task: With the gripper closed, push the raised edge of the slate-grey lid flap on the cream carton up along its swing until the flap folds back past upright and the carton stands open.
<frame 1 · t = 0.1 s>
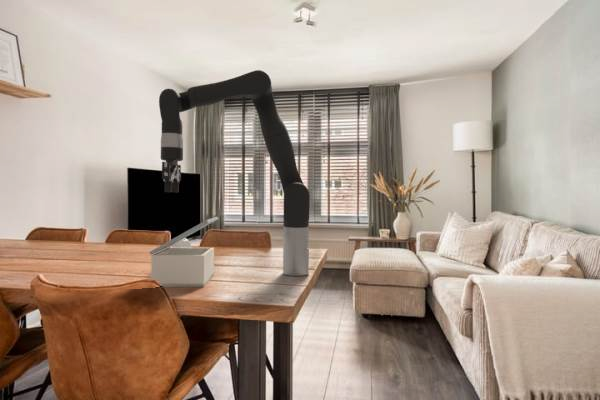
hand: (171, 192, 128), 29 cm above the table, tool pointing down, fingers open, 8 cm apart
white rounded piece: (181, 270, 134), on the table
carton lid: (186, 234, 117), point 15 cm above the table, hinge at 30.0°
carton: (184, 280, 118), on the table
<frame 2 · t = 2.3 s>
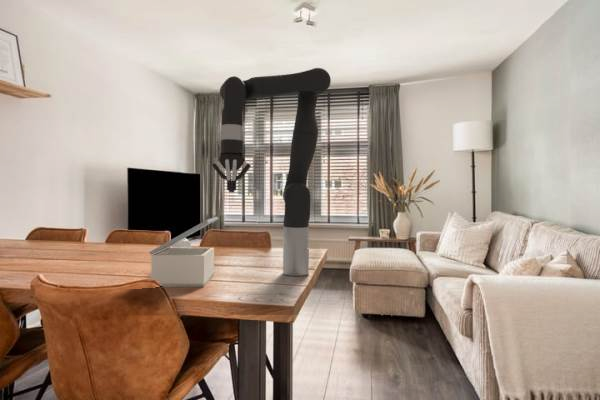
hand: (231, 192, 118), 30 cm above the table, tool pointing down, fingers closed
nothing on the table moved.
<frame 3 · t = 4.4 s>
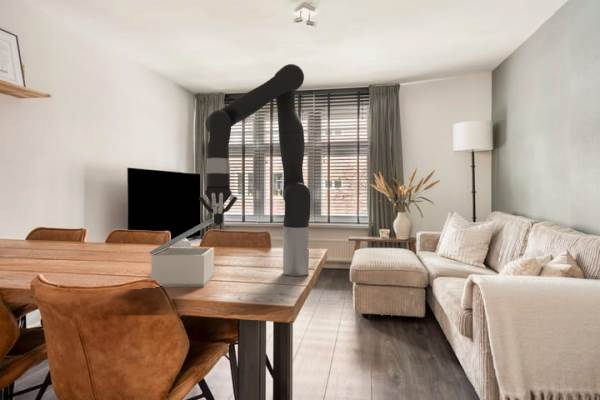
hand: (218, 225, 118), 19 cm above the table, tool pointing down, fingers closed
carton lid: (186, 234, 117), point 15 cm above the table, hinge at 29.6°, touching gripper
everything else where it was.
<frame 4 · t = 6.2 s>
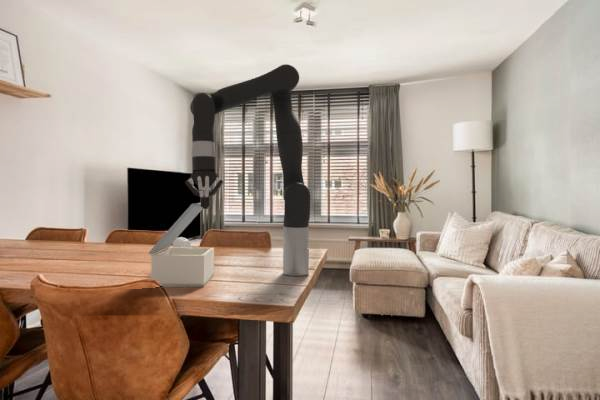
hand: (205, 208, 118), 24 cm above the table, tool pointing down, fingers closed
carton lid: (179, 226, 117), point 18 cm above the table, hinge at 49.2°, touching gripper
everything else where it was.
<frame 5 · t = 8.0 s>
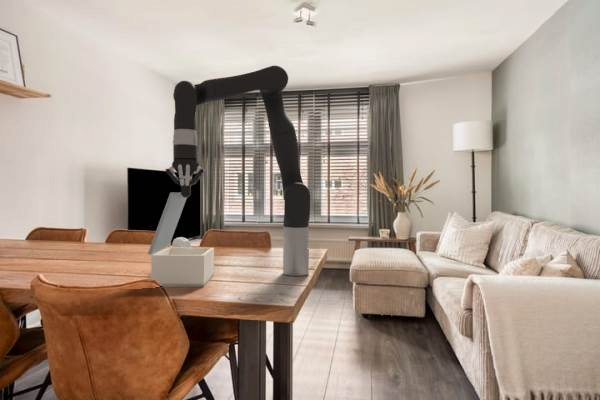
hand: (185, 197, 117), 28 cm above the table, tool pointing down, fingers closed
carton lid: (169, 221, 117), point 20 cm above the table, hinge at 70.5°, touching gripper
everything else where it was.
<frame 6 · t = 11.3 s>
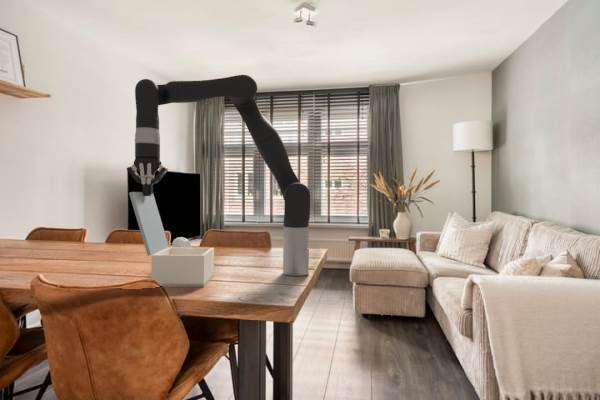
hand: (147, 196, 117), 28 cm above the table, tool pointing down, fingers closed
carton lid: (150, 221, 117), point 19 cm above the table, hinge at 106.5°, touching gripper
everything else where it was.
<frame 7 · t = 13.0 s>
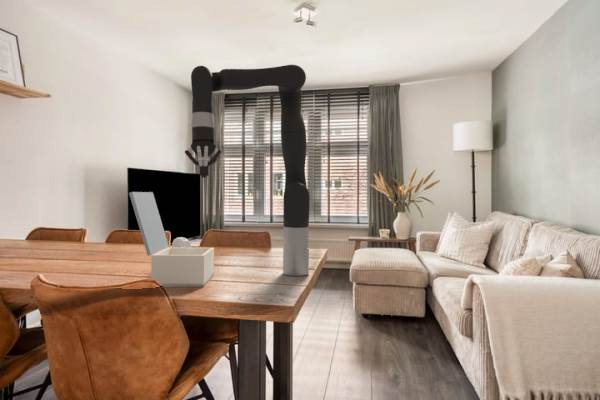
hand: (204, 177, 123), 34 cm above the table, tool pointing down, fingers closed
carton lid: (150, 221, 117), point 19 cm above the table, hinge at 106.6°
everything else where it was.
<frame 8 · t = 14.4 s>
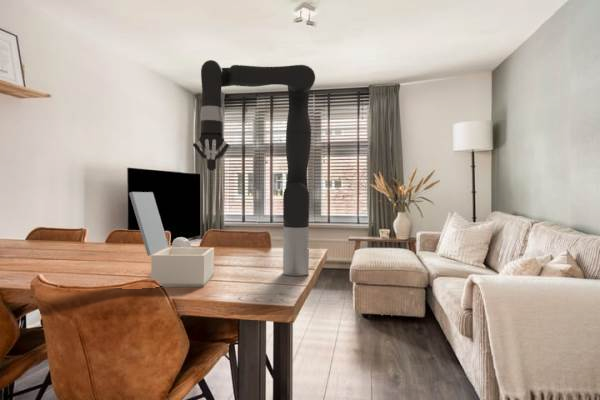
hand: (211, 170, 124), 37 cm above the table, tool pointing down, fingers closed
nothing on the table moved.
at the end: carton lid at +107° (first picture: +30°); the gripper is holding nothing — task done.
